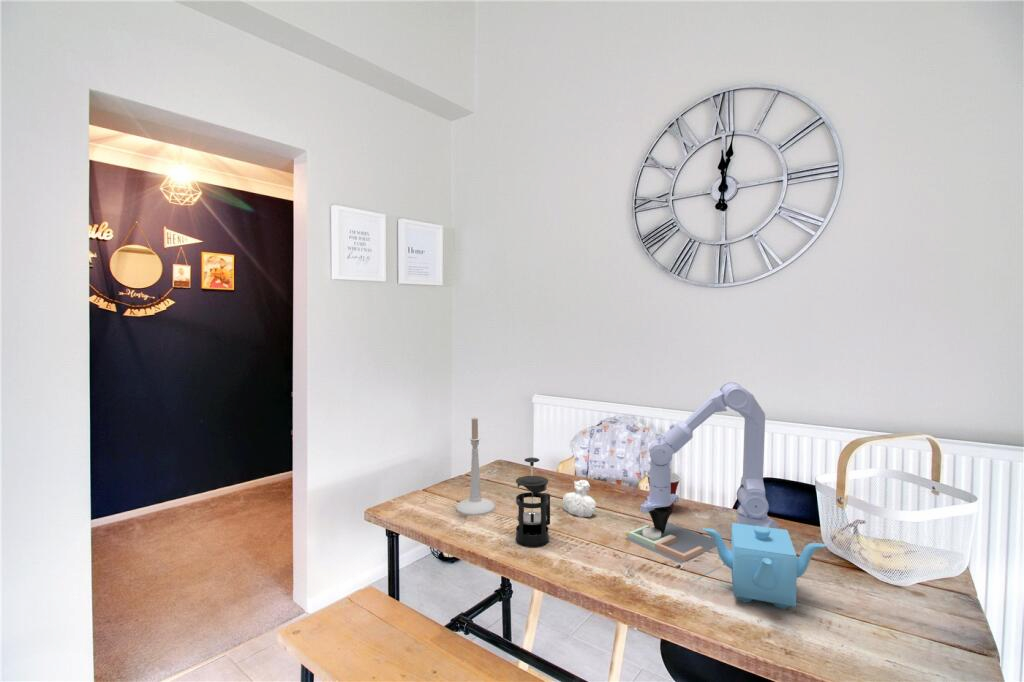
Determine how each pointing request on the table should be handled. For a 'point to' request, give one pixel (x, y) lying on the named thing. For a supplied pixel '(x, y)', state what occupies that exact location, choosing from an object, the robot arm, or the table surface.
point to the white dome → (652, 534)
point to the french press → (532, 520)
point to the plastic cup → (674, 482)
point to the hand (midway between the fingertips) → (659, 532)
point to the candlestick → (475, 483)
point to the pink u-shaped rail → (682, 556)
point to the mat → (681, 541)
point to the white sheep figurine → (579, 500)
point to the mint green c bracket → (637, 536)
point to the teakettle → (763, 563)
